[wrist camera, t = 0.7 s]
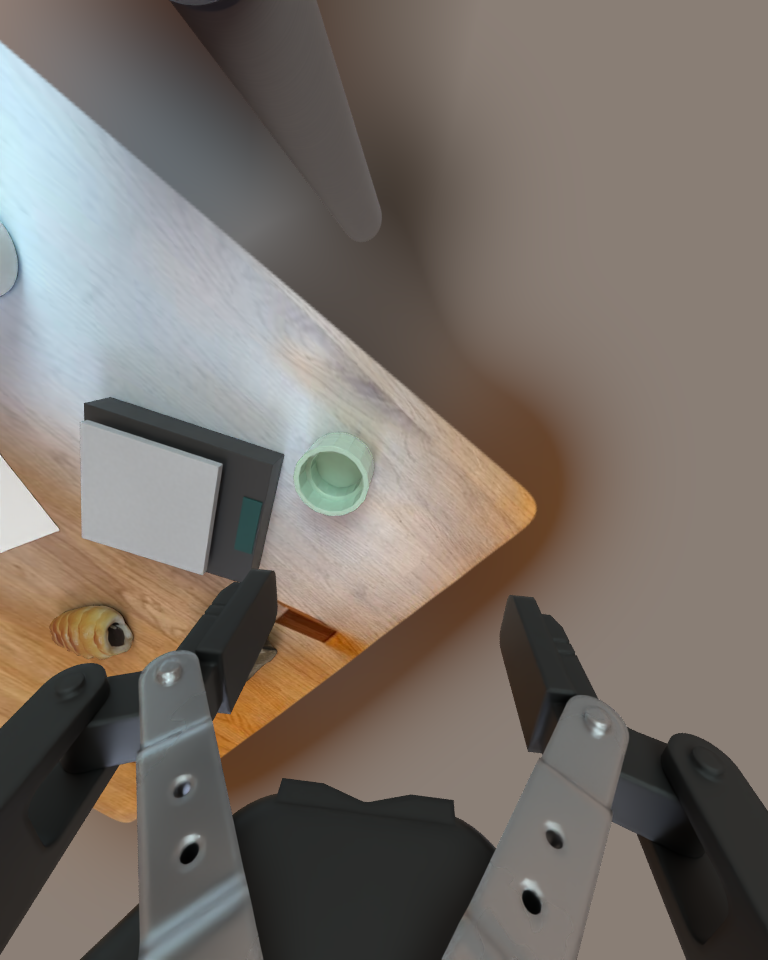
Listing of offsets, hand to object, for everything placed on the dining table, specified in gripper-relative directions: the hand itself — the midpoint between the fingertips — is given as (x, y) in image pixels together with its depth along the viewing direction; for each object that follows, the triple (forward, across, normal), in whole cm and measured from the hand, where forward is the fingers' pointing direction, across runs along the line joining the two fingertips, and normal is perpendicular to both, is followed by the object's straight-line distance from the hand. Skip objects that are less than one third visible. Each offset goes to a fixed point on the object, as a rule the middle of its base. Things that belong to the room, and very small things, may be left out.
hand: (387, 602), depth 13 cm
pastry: (+23, +36, +28) cm, 51 cm away
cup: (+23, +6, +3) cm, 24 cm away
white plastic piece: (+23, +51, +9) cm, 56 cm away
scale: (+23, +21, +8) cm, 32 cm away
